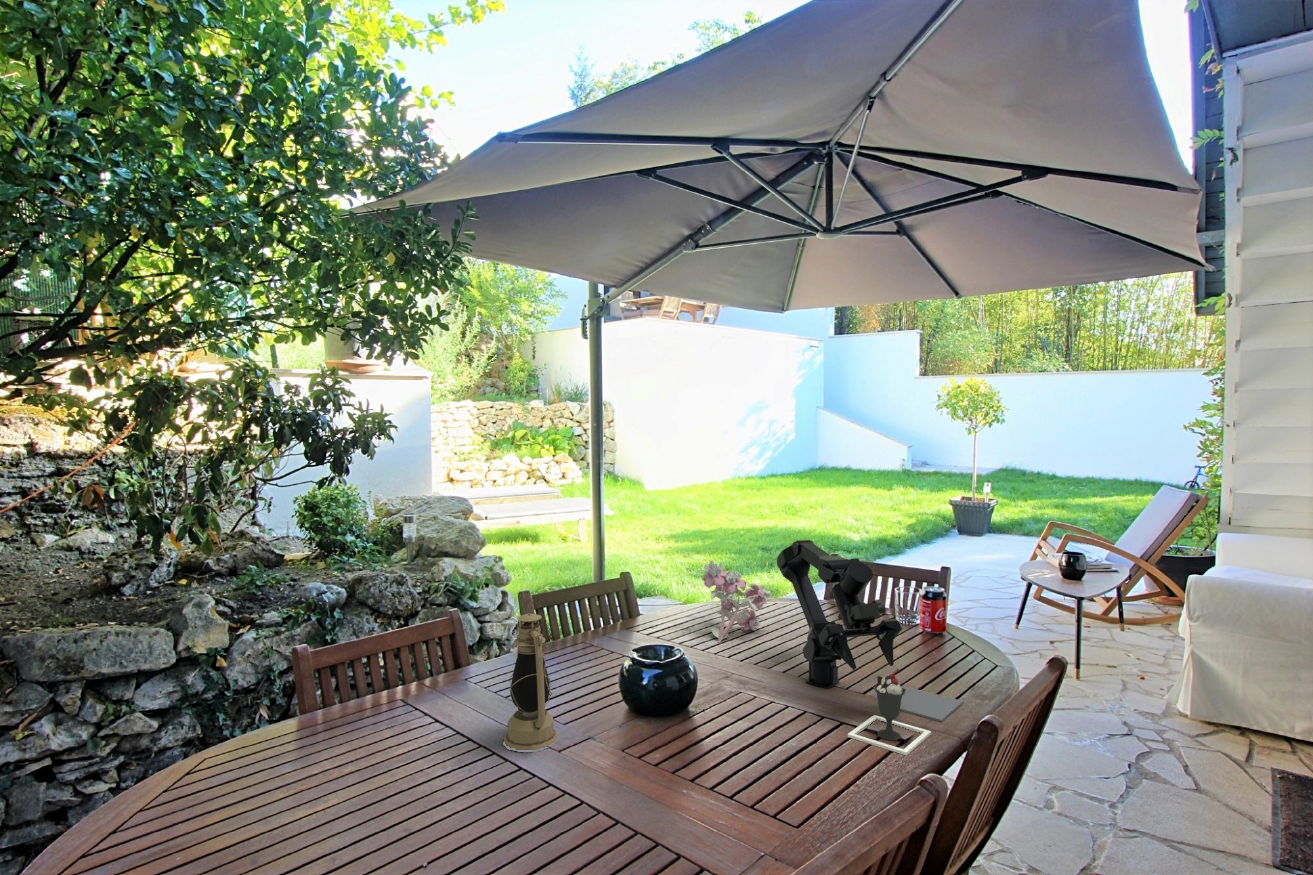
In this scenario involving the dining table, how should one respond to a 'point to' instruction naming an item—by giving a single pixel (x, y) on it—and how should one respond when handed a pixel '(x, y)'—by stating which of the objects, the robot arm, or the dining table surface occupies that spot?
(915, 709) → the mat
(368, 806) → the dining table surface
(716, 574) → the flower
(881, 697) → the sundae
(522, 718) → the lantern
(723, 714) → the dining table surface
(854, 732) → the stand rim
